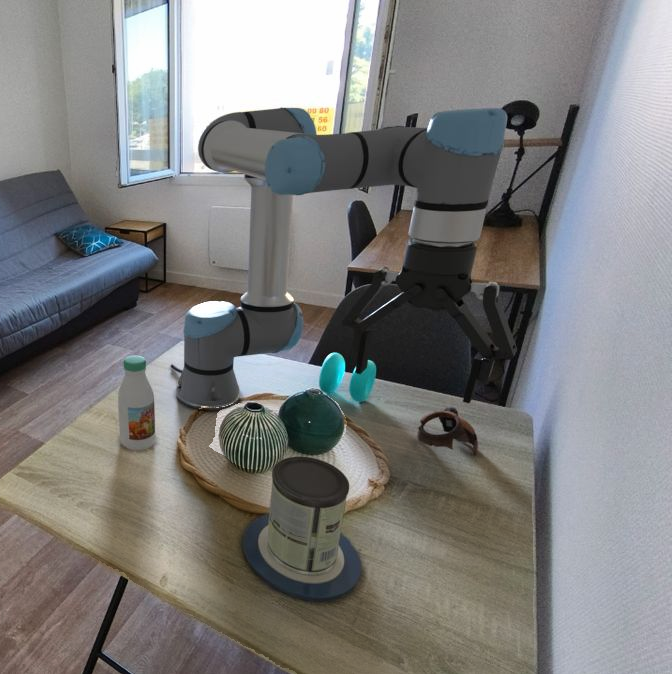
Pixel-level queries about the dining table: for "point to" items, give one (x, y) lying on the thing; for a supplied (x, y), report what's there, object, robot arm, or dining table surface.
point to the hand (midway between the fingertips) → (411, 383)
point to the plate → (298, 584)
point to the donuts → (335, 372)
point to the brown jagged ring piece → (448, 430)
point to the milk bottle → (136, 406)
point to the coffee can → (306, 514)
